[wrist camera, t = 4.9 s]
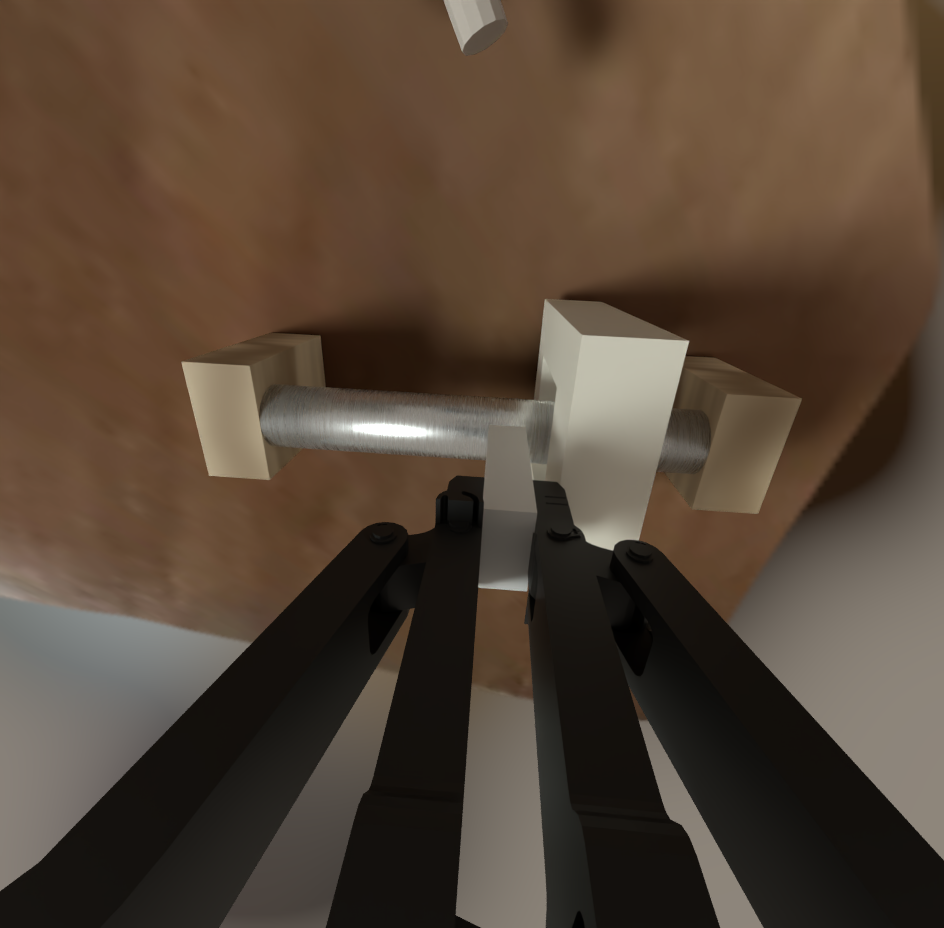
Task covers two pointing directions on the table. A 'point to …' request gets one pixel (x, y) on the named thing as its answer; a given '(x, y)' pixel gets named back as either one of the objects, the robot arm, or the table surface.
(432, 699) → the robot arm
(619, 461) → the collar
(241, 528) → the table surface
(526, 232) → the table surface
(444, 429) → the steel rod
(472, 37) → the pipe connector
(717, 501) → the rod support stand
